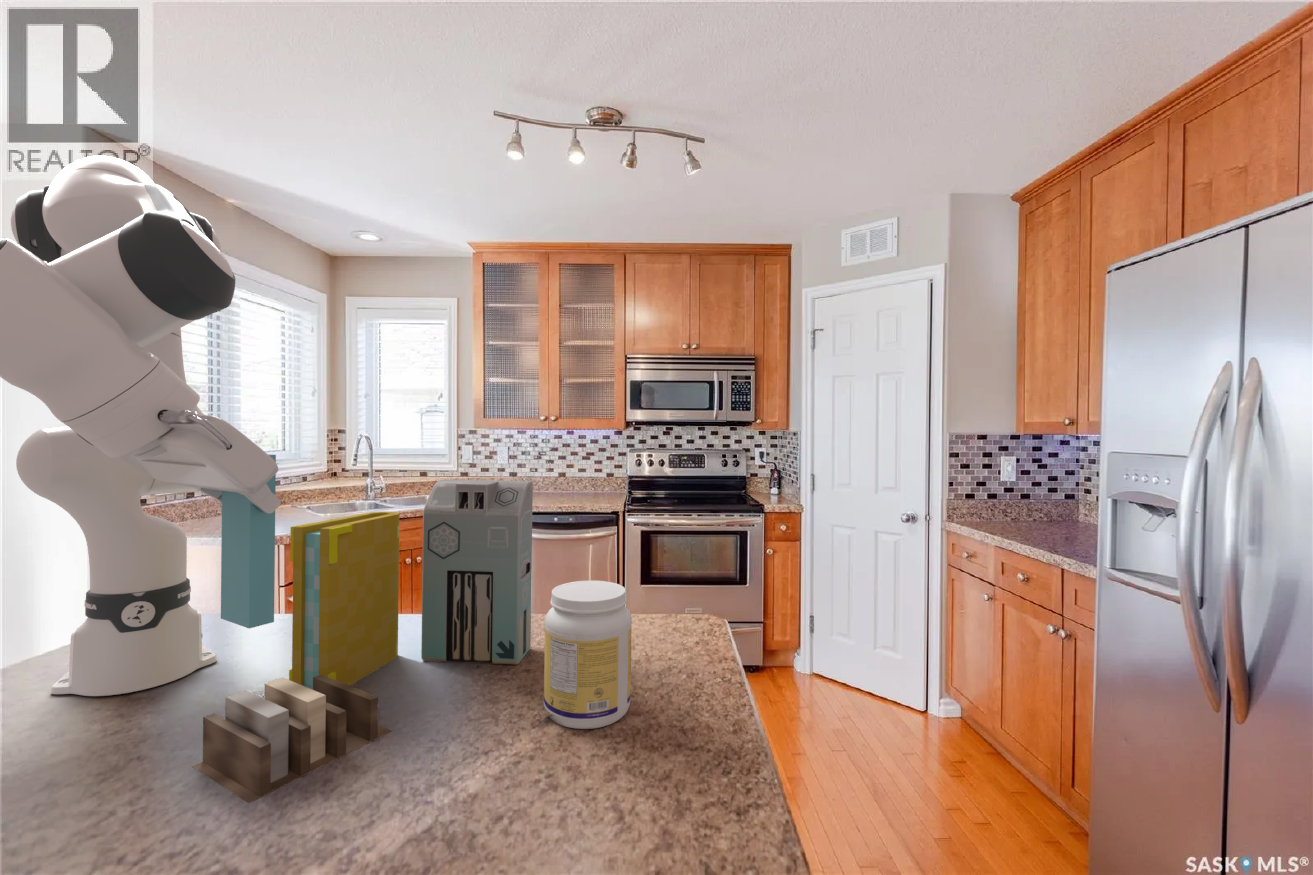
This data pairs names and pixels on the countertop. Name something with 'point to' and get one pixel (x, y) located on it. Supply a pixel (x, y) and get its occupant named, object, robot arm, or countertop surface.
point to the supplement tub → (587, 654)
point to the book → (344, 597)
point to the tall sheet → (247, 560)
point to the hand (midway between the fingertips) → (254, 505)
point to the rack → (248, 757)
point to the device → (477, 571)
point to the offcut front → (262, 725)
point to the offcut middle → (302, 709)
